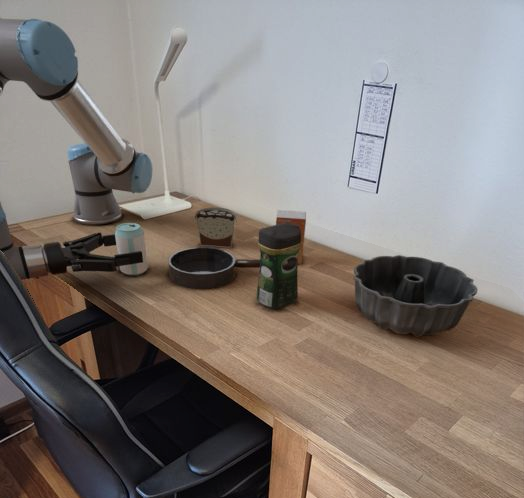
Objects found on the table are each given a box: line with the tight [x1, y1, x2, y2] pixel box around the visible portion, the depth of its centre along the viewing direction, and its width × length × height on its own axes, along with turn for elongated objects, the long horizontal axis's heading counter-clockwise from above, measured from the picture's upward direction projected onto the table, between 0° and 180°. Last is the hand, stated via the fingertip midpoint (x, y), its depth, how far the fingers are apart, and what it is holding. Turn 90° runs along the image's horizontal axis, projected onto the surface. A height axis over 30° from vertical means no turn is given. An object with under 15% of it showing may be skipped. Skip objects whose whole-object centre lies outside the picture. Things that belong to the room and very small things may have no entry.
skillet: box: [167, 246, 236, 290], centre depth 119 cm, size 17×17×4 cm
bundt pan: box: [352, 254, 478, 338], centre depth 103 cm, size 26×26×10 cm
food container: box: [194, 207, 238, 249], centre depth 136 cm, size 12×6×10 cm, turn 84°
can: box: [114, 222, 149, 276], centre depth 117 cm, size 7×7×12 cm
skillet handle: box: [235, 258, 260, 269], centre depth 120 cm, size 13×2×2 cm, turn 95°
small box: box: [275, 209, 307, 265], centre depth 127 cm, size 8×6×13 cm
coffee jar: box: [256, 222, 301, 310], centre depth 104 cm, size 10×8×19 cm
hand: (135, 246), depth 117 cm, fingers open, 13 cm apart
